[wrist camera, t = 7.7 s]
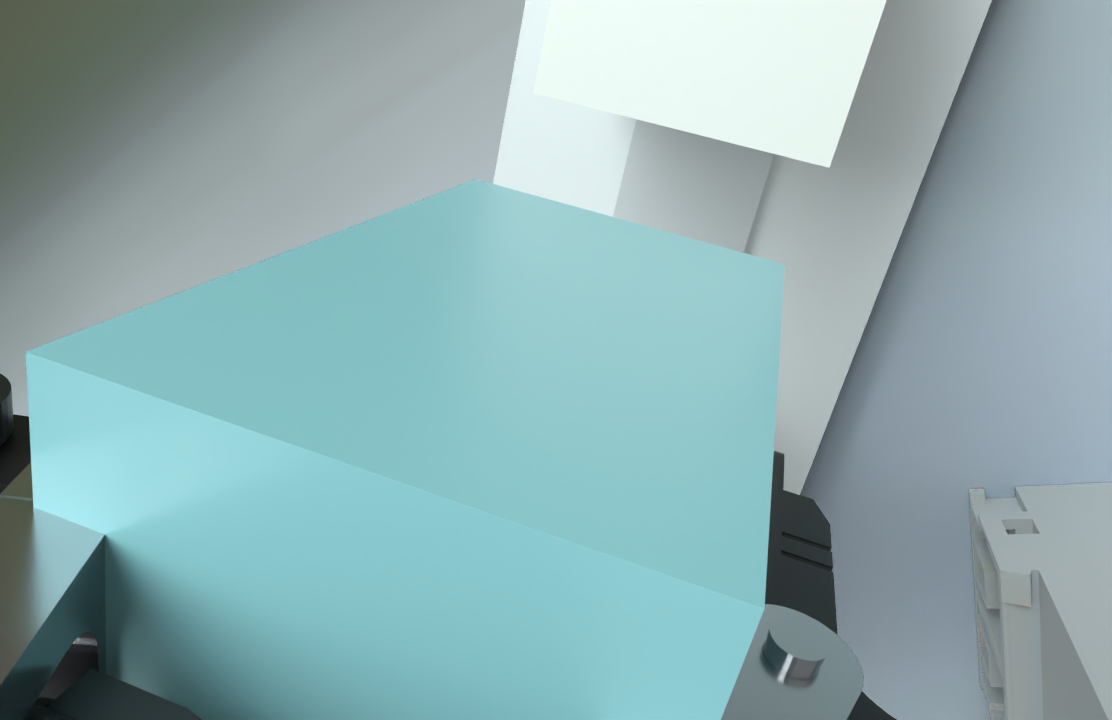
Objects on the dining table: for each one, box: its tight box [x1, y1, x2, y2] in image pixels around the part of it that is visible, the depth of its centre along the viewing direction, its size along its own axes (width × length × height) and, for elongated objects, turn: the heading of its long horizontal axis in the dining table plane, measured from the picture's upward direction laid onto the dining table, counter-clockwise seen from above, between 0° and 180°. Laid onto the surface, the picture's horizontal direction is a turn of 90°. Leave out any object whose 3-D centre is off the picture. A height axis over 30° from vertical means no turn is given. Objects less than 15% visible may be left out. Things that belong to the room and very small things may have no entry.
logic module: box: [26, 179, 785, 720], centre depth 10 cm, size 6×5×8 cm
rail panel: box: [493, 0, 992, 495], centre depth 22 cm, size 26×12×9 cm, turn 168°
